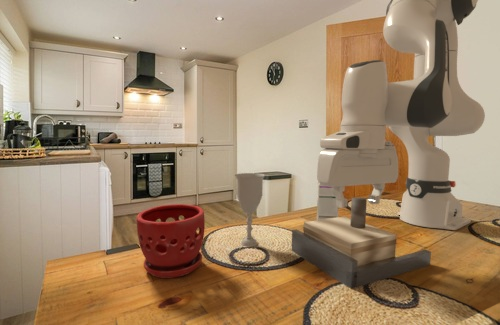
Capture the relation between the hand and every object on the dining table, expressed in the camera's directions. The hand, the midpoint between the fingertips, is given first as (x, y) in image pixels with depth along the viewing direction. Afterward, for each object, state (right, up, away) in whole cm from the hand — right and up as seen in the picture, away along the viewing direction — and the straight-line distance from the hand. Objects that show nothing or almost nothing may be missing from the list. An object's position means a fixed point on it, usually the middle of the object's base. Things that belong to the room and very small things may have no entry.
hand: (358, 205), depth 60 cm
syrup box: (-1, -11, +22) cm, 25 cm away
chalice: (-23, -12, +9) cm, 28 cm away
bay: (0, -13, +2) cm, 13 cm away
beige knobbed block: (-3, -12, 0) cm, 12 cm away
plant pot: (-39, -13, -2) cm, 41 cm away
